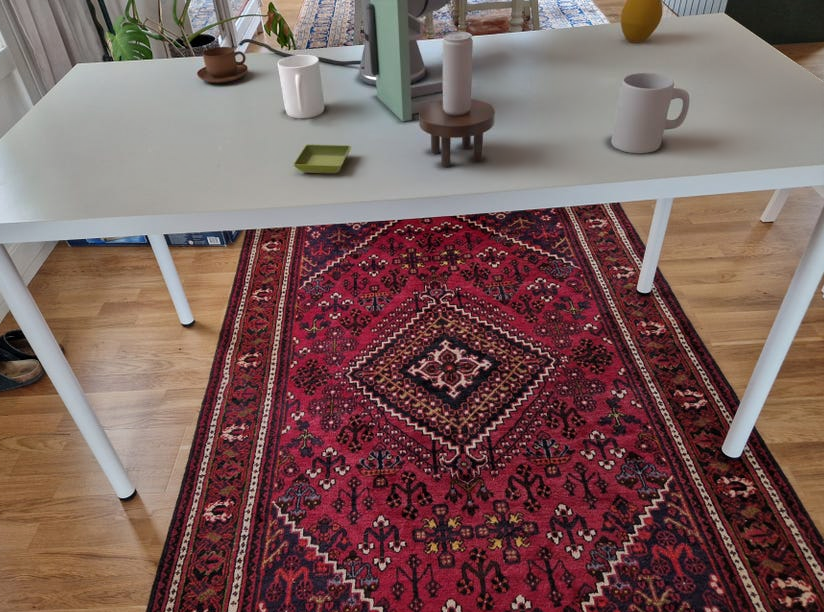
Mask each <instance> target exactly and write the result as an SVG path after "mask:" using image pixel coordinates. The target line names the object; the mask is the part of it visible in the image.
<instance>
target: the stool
mask: <svg viewBox="0 0 824 612" xmlns="http://www.w3.org/2000/svg"><path fill="white" fill-rule="evenodd" d="M495 110H496V109H495V108H494V107H493V105H491V104H490V103H488V102H487V101H483V100H480V99H474V98H471V109H470V110H469V112H468V113H466V114H464V115H459V116H453V115H448V114H446V113H445V111H444V109H443V100H438V101H435V102H431V103H429V104H427V105H425V106H423V107H422V108H421V109H420V111H419V113H418V124H419V125H418V126H419V128H420V129H421V131H423V132H424V133H426V134H429V135H430V153H431V154H433V155H436V154H440V162H441V163H440V166H441V167H442V168H449V167H451V140H452V139H461V148H462V149H465V150H467V149H470V148H471V147H472V144H471V143H472V137H473V147H472V149H473V150H472V153H473V154H472V160H473V162H475V163H476V162H477V163H479V162H482V161H483V151H484V150H483V149H484V148H483V147H484V133H486V132H488V131H490V130H491V129H492V128H493V127H494V125H495V115H496V111H495Z"/></svg>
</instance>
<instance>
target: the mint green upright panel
mask: <svg viewBox="0 0 824 612" xmlns="http://www.w3.org/2000/svg"><path fill="white" fill-rule="evenodd" d="M366 10H367V23H368V36H369V49H370V62H371V73H372V75H374V76H376V98H378V100H380V101H381V102H382V104H384V105H385V106H386V107H387V108H388V109H389V110H390V111H391V112H392V113H393V114H394V115H395V116H396V117H397V118H398V119H400V121H402V122H403V123H404V122H408V121H412V120H413V115H414V114H415V115H416V114H419V111H420V109H421V108H422V107H423V106H425V105H427V104H429V103H431V102H435V101H438V100H443V96H442V97H436V98H430V99H426V100H425V99H424V100H420V101H419V100H418V101H415V102H412V98H415V97H419V96H420V97H421V96H426V95H431V94H436V93H443V80H442V81H434V82H429V83H423V84H418V85H412V83H411V82H410V56H409V40H415V39H416V40H420V39H421V40H422V39H423V38H424V22H423V21H422V20H420V19H419V18H418V17H417V18H415V17H414V16H412V15H410V14H409V13H408V3H407V0H370V4H368V5H367V7H366Z"/></svg>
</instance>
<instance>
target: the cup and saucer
mask: <svg viewBox="0 0 824 612" xmlns="http://www.w3.org/2000/svg"><path fill="white" fill-rule="evenodd" d="M237 55H241V57H242V60H241V61H237V59H236V57H237ZM202 57H203V62H204V67H202V68H200V69H199V70H198V71H197V72H196V75H197V77H198V78H199V79H200V80H201V81H204V82H207V83H214V84H217V83H218V84H220V83H221V84H222V83H228V82H233V81H236V80H238V79H240V78H243V77H244V76H245V75H246V74H247V72H248V65H246V64H245V63H246V58H247V57H246V54H245V53H244V52H243V51H242V50H241V51H239V50H238V51H235V49H234V48H233V47H231V46H215V47H211V48H207V49H205V50H204V51H203V52H202Z"/></svg>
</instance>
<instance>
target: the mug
mask: <svg viewBox="0 0 824 612" xmlns="http://www.w3.org/2000/svg"><path fill="white" fill-rule="evenodd" d="M674 85H675V81H674V79H672V78H671V77H669V76H667V75H664V74H660V73H655V72H654V73H653V72H637V73H632V74H627V75H626V76H624V77H623V78H622V81H621V84H620V90H619V96H618V102H617V107H616V113H615V118H614V119H615V120H614V125H613V128H612V129H613V130H612V134H611V141H610V142H611V144H612V146H613V147H614V148H615V149H617V150H619V151H621V152H625V153H630V154H648V153H653V152H655V151H657V150H658V149H659V148H661V146H662V141H663V136H664V132H665V131H669V130H673V129H677V128H679V127H680V126H682V124H683V123H684V122H685V120H686V117H687V116H688V111H689V109H690V93H688V91H687V90H685V89H683V88H676V87H675V86H674ZM676 99H680V100H681V101H682V108H681V111H680V113H679V115H678V117H676V118H675V119H667V118H668V114H669V109H670V106H671V102H672V100H676Z"/></svg>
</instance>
